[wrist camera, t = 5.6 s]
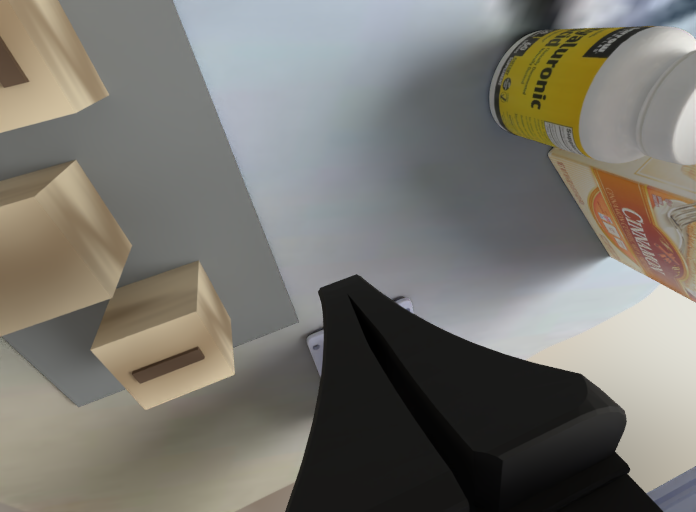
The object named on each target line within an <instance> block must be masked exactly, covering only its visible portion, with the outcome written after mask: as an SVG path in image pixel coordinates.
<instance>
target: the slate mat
mask: <svg viewBox="0 0 696 512" xmlns="http://www.w3.org/2000/svg"><path fill="white" fill-rule="evenodd" d="M58 1H59V3H60V5H61V7H62V8H63V10H64V12H65V14H66V16H67V18H68V20H69V21H70V23H71V25H72V27H73V29H74V31H75V32H76V34H77V36H78V38H79V40H80V42H81V43H82V45H83V47H84V49H85V51H86V53H87V55H88V56H89V58H90V60H91V62H92V64H93V66H94V67H95V69H96V71H97V73H98V75H99V77H100V79H101V80H102V82H103V84H104V86H105V88H106V90H107V91H108V93H109V96H107V97H105V98H103V99H101V100H99V101H97V102H96V103H94V104H92V105H90V106H88V107H86V108H84V109H83V110H81V111H79V112H77V113H74V114H70V115H66V116H63V117H59V118H55V119H51V120H47V121H44V122H40V123H36V124H32V125H29V126H25V127H21V128H17V129H13V130H10V131H6V132H2V133H0V181H3V180H6V179H10V178H13V177H17V176H20V175H24V174H27V173H31V172H34V171H38V170H41V169H45V168H48V167H52V166H55V165H59V164H63V163H66V162H70V161H73V160H77V162H78V163H79V165H80V166H81V168H82V170H83V171H84V173H85V174H86V176H87V177H88V179H89V180H90V182H91V183H92V185H93V186H94V188H95V189H96V191H97V192H98V194H99V196H100V197H101V199H102V200H103V202H104V203H105V205H106V206H107V208H108V209H109V211H110V212H111V214H112V215H113V217H114V218H115V220H116V222H117V223H118V225H119V226H120V228H121V229H122V231H123V232H124V234H125V235H126V237H127V238H128V240H129V241H130V243H131V245H132V247H131V250H130V252H129V255H128V258H127V260H126V263H125V266H124V268H123V271H122V274H121V276H120V279H119V282H118V284H117V287H116V289H117V288H120V287H123V286H126V285H129V284H131V283H134V282H137V281H140V280H143V279H146V278H149V277H152V276H155V275H158V274H161V273H164V272H166V271H169V270H172V269H175V268H178V267H181V266H184V265H187V264H190V263H193V262H196V261H200V263H201V265H202V267H203V269H204V271H205V272H206V274H207V276H208V278H209V280H210V282H211V283H212V285H213V287H214V289H215V291H216V293H217V295H218V296H219V298H220V300H221V302H222V304H223V306H224V307H225V309H226V311H227V313H228V315H229V317H230V319H231V330H232V343H233V347H236V346H239V345H241V344H244V343H246V342H249V341H252V340H254V339H257V338H259V337H262V336H264V335H267V334H270V333H272V332H275V331H277V330H280V329H283V328H285V327H288V326H290V325H293V324H296V323H298V322H299V321H298V318H297V316H296V313H295V310H294V308H293V305H292V303H291V300H290V298H289V295H288V293H287V290H286V288H285V285H284V283H283V280H282V277H281V275H280V272H279V270H278V267H277V265H276V262H275V260H274V257H273V255H272V252H271V249H270V247H269V244H268V242H267V239H266V237H265V234H264V232H263V229H262V227H261V224H260V221H259V219H258V216H257V214H256V211H255V209H254V206H253V204H252V201H251V199H250V196H249V193H248V191H247V188H246V186H245V183H244V181H243V178H242V176H241V173H240V171H239V168H238V166H237V163H236V160H235V158H234V155H233V153H232V150H231V148H230V145H229V143H228V140H227V138H226V135H225V132H224V130H223V127H222V125H221V122H220V120H219V117H218V115H217V112H216V110H215V107H214V104H213V102H212V99H211V97H210V94H209V92H208V89H207V87H206V84H205V82H204V79H203V76H202V74H201V71H200V69H199V66H198V64H197V61H196V59H195V56H194V54H193V51H192V49H191V46H190V43H189V41H188V38H187V36H186V33H185V31H184V28H183V26H182V23H181V21H180V18H179V15H178V13H177V10H176V8H175V5H174V3H173V0H58ZM109 300H110V299H108V300H105V301H102V302H99V303H96V304H93V305H90V306H88V307H85V308H82V309H79V310H76V311H73V312H70V313H67V314H64V315H62V316H59V317H56V318H53V319H50V320H47V321H44V322H41V323H38V324H36V325H33V326H30V327H27V328H24V329H21V330H18V331H15V332H12V333H9V334H7V335H4V336H1V337H3V338H4V339H5V340H6V341H7V342H8V343H9V344H10V345H11V346H12V347H13V348H15V349H16V350H17V351H18V352H19V353H20V354H21V355H22V356H23V357H24V358H25V359H27V360H28V361H29V362H30V363H31V364H32V365H33V366H34V367H35V368H36V369H37V370H39V371H40V372H41V373H42V374H43V375H44V376H45V377H46V378H47V379H48V380H49V381H51V382H52V383H53V384H54V385H55V386H56V387H57V388H58V389H59V390H60V391H61V392H63V393H64V394H65V395H66V396H67V397H68V398H69V399H70V400H71V401H72V402H73V403H75V404H76V405H77V406H78V407H81V406H83V405H86V404H89V403H91V402H94V401H96V400H99V399H101V398H104V397H107V396H109V395H112V394H114V393H117V392H120V391H122V390H125V389H126V388H125V387H124V386H123V385H122V384H121V383H120V382H119V381H118V380H117V379H116V378H115V376H114V375H113V374H112V373H111V372H110V371H109V370H108V369H107V368H106V367H105V366H104V364H103V363H102V362H101V361H100V360H99V359H98V358H97V357H96V356H95V355H94V354H93V352H92V351H91V350H90V349H91V347H92V344H93V342H94V339H95V336H96V334H97V331H98V329H99V326H100V324H101V321H102V318H103V316H104V313H105V311H106V308H107V305H108V303H109Z"/></svg>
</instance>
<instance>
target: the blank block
mask: <svg viewBox="0 0 696 512" xmlns="http://www.w3.org/2000/svg"><path fill="white" fill-rule="evenodd" d="M131 247H132V245H131V243H130V241H129V240H128V238H127V237H126V235H125V234H124V232H123V231H122V229H121V228H120V226H119V225H118V223H117V222H116V220H115V218H114V217H113V215H112V214H111V212H110V211H109V209H108V208H107V206H106V205H105V203H104V202H103V200H102V199H101V197H100V196H99V194H98V192H97V191H96V189H95V188H94V186H93V185H92V183H91V182H90V180H89V179H88V177H87V176H86V174H85V173H84V171H83V170H82V168H81V166H80V165H79V163H78V162H77V160H73V161H70V162H66V163H63V164H59V165H55V166H52V167H48V168H45V169H41V170H38V171H34V172H31V173H27V174H24V175H20V176H17V177H13V178H10V179H6V180H3V181H0V337H1V336H4V335H7V334H9V333H12V332H15V331H18V330H21V329H24V328H27V327H30V326H33V325H36V324H38V323H41V322H44V321H47V320H50V319H53V318H56V317H59V316H62V315H64V314H67V313H70V312H73V311H76V310H79V309H82V308H85V307H88V306H90V305H93V304H96V303H99V302H102V301H105V300H108V299H111V298H112V297H113V295H114V292H115V289H116V287H117V284H118V282H119V279H120V276H121V274H122V271H123V268H124V266H125V263H126V260H127V258H128V255H129V252H130V250H131Z"/></svg>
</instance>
